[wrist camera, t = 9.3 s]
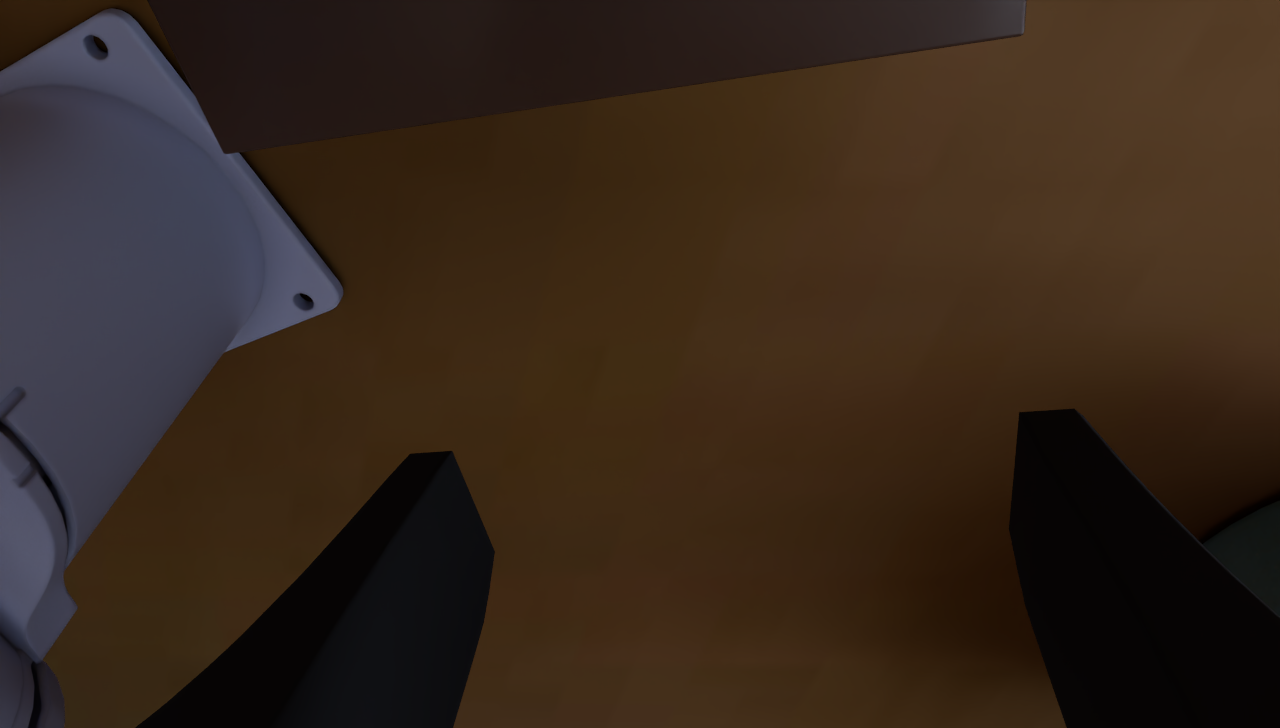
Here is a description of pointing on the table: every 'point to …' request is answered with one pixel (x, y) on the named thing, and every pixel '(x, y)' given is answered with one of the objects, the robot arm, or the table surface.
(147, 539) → the table surface
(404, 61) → the step shelf
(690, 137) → the table surface
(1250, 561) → the flower pot
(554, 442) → the table surface
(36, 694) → the robot arm
